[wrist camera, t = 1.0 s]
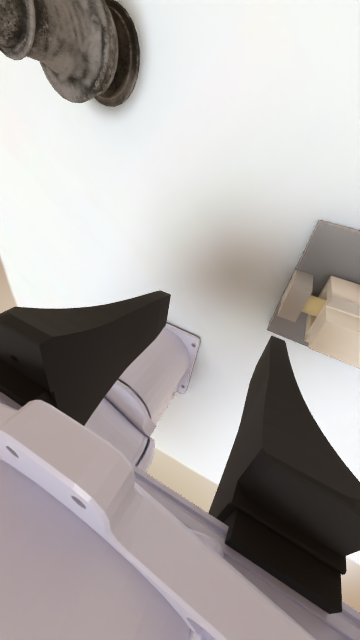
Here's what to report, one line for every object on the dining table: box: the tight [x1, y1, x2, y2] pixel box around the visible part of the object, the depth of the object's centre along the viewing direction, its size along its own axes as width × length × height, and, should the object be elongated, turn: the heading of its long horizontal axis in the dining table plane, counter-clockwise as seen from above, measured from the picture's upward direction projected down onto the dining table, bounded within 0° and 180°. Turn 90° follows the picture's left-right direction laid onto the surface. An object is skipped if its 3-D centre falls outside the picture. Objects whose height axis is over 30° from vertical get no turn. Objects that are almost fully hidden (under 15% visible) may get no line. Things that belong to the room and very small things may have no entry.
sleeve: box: [304, 276, 360, 369], centre depth 15 cm, size 3×4×5 cm
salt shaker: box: [0, 0, 139, 106], centre depth 13 cm, size 6×6×12 cm
